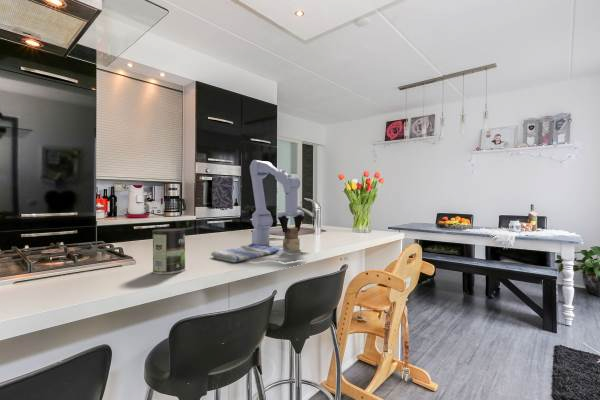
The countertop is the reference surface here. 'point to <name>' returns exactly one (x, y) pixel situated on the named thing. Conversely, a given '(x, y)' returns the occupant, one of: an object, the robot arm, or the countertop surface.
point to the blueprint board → (282, 249)
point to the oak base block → (291, 244)
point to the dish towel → (243, 253)
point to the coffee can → (168, 250)
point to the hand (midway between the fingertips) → (291, 231)
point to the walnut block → (291, 233)
